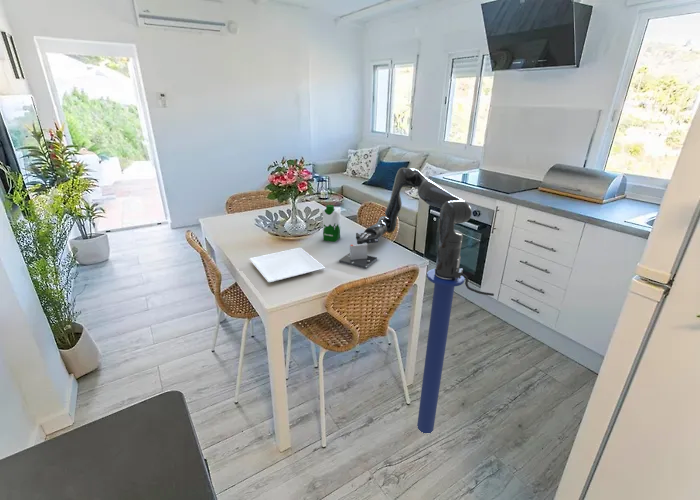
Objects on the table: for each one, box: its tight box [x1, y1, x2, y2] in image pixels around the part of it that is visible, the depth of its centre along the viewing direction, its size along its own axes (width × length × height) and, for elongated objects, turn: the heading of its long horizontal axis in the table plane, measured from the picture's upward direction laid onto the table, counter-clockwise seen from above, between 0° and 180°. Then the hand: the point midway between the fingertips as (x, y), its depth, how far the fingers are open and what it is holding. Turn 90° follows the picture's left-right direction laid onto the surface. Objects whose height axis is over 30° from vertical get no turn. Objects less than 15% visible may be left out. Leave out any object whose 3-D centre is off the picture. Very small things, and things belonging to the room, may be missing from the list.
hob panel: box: [338, 252, 378, 270], centre depth 164 cm, size 14×12×2 cm
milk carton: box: [321, 204, 342, 243], centre depth 187 cm, size 9×9×20 cm
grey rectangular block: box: [349, 243, 368, 260], centre depth 163 cm, size 8×2×7 cm, turn 105°
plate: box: [248, 247, 326, 283], centre depth 157 cm, size 26×26×2 cm
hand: (358, 242), depth 168 cm, fingers closed
